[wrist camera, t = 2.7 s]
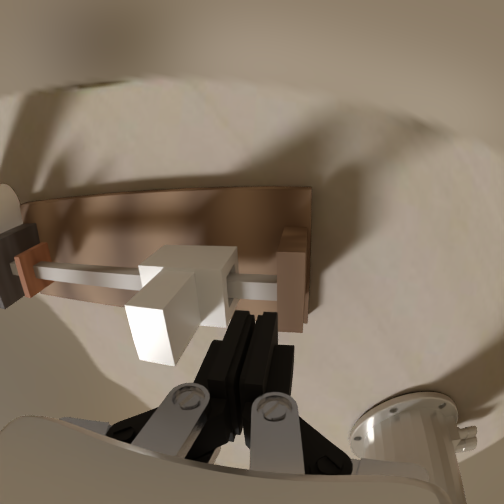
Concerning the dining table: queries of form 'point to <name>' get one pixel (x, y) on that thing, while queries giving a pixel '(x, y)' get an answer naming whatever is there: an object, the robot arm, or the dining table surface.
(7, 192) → the cylindrical container
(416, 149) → the dining table surface
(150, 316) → the sleeve
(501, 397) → the dining table surface
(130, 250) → the rail
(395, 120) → the dining table surface
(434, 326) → the dining table surface
